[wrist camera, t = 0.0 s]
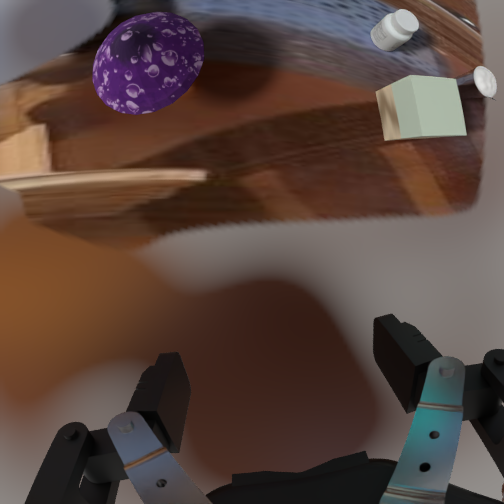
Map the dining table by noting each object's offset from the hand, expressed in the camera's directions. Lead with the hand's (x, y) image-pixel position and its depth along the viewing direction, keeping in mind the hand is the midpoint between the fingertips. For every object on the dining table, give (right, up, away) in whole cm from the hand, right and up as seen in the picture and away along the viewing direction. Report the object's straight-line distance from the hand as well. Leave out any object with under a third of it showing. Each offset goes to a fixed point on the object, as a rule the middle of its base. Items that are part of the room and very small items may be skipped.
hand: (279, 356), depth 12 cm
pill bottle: (+18, +35, +21) cm, 44 cm away
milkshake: (+30, +29, +23) cm, 48 cm away
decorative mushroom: (-12, +26, +23) cm, 37 cm away
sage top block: (+20, +22, +20) cm, 36 cm away
